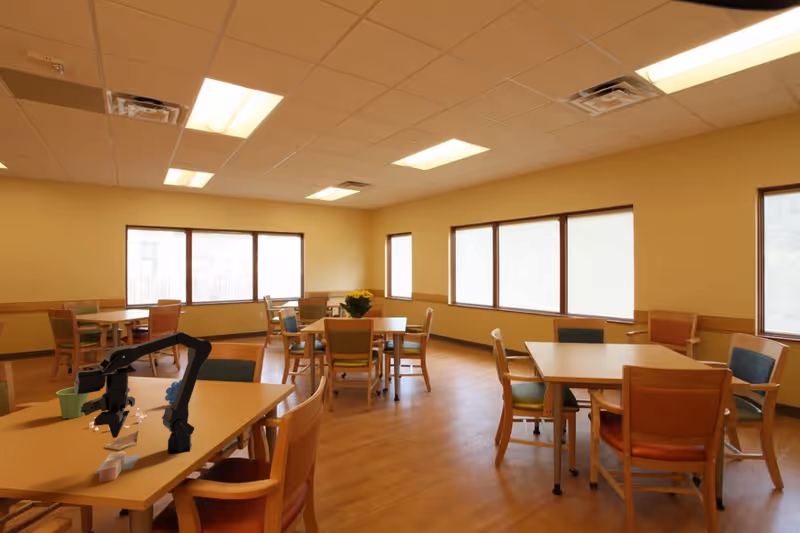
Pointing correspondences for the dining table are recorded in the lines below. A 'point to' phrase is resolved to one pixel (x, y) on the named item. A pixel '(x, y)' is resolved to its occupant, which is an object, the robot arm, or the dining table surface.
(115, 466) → the block
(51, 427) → the dining table surface
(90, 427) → the game piece set
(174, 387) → the grapes
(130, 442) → the shard
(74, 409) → the plant pot
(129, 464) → the mat
